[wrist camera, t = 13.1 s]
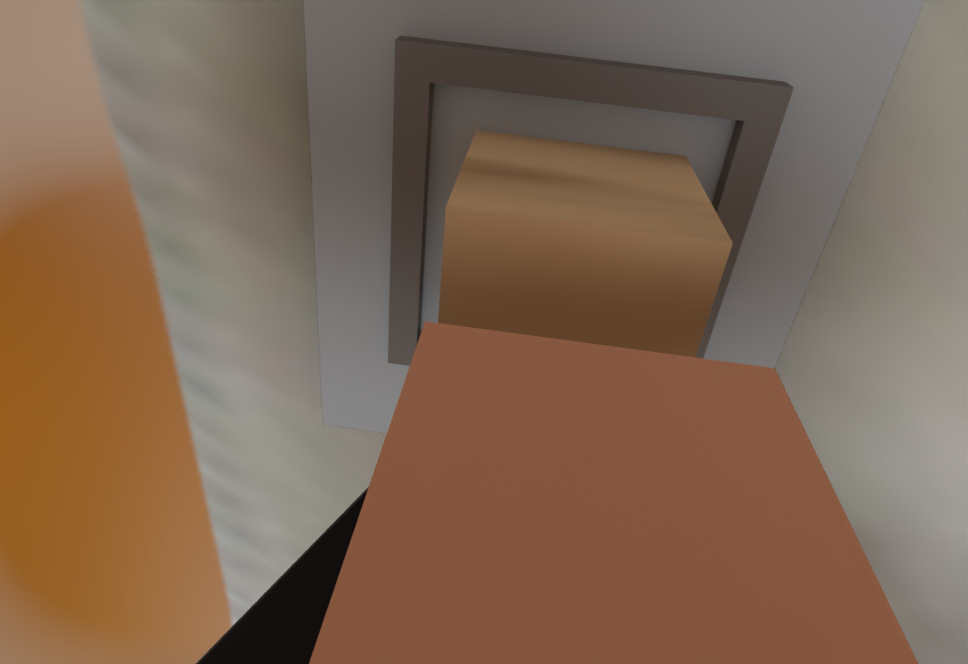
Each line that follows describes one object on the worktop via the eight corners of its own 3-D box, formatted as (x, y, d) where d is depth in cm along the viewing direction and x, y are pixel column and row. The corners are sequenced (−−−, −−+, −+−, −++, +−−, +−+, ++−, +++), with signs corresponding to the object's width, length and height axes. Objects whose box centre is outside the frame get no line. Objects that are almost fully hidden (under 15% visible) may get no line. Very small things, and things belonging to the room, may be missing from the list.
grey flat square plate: (722, 463, 21) (732, 494, 20) (329, 408, 22) (316, 436, 21) (935, -78, 13) (972, -78, 12) (308, -148, 14) (285, -154, 13)
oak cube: (638, 333, 18) (663, 457, 14) (460, 309, 18) (431, 424, 14) (685, 155, 16) (732, 243, 11) (476, 129, 16) (445, 206, 12)
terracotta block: (683, 592, 11) (764, 1023, 7) (411, 552, 11) (318, 950, 7) (774, 368, 8) (993, 820, 4) (425, 321, 9) (293, 713, 4)
